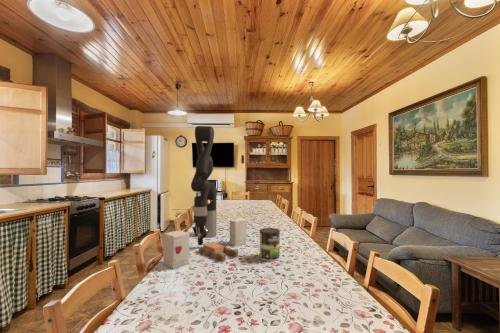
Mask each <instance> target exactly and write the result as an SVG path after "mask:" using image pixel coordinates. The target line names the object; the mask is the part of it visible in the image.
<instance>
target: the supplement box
mask: <svg viewBox="0 0 500 333" xmlns="http://www.w3.org/2000/svg"><path fill="white" fill-rule="evenodd" d="M162 264H163V265H164V264H165V265H164V266H166V265H167V266H166V267H168V266H169V267H168V268H170V267H171V268H170V269H172V268H173V269H172V270H175V269H178V268H182V267H185V266H187V265H189V264H190V233H189V232H187V231H183V230H174V231H170V232H164V233H163V262H162ZM184 265H185V266H184ZM181 266H182V267H181ZM177 267H178V268H177ZM174 268H175V269H174Z"/></svg>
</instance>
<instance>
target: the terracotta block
mask: <svg viewBox="0 0 500 333" xmlns="http://www.w3.org/2000/svg"><path fill="white" fill-rule="evenodd" d="M202 247H204V248H206V249H209V250H212V251H215V252H217V253H220V254H221V253H224V247H225V246H224V245H223V244H219V243H217V242H216V243H215V242H213V241H211V242H208V243H203V245H202Z"/></svg>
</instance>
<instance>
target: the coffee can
mask: <svg viewBox="0 0 500 333" xmlns="http://www.w3.org/2000/svg"><path fill="white" fill-rule="evenodd" d="M280 233H281V231H280V229H278V228H274V227H265V228H261V229H259V259H260V260H262V261H265V262H275V261H279V259H280Z"/></svg>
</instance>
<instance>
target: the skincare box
mask: <svg viewBox="0 0 500 333" xmlns="http://www.w3.org/2000/svg"><path fill="white" fill-rule="evenodd" d="M246 235H247V220H246V219H244V218H241V217H240V218H236V219H230V220H229V245H231V246H234V247H238V246H243V245H246V244H247V236H246Z"/></svg>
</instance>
